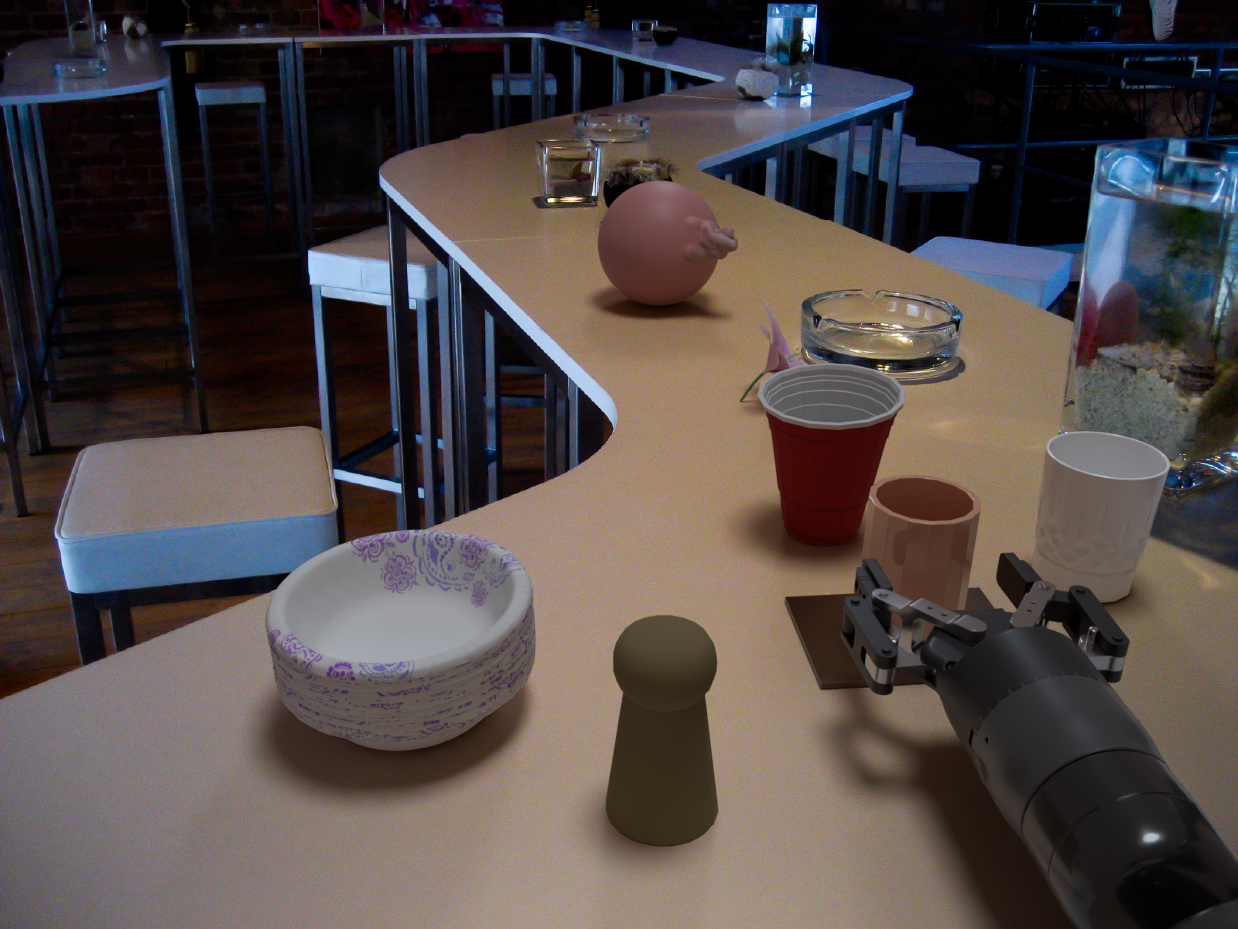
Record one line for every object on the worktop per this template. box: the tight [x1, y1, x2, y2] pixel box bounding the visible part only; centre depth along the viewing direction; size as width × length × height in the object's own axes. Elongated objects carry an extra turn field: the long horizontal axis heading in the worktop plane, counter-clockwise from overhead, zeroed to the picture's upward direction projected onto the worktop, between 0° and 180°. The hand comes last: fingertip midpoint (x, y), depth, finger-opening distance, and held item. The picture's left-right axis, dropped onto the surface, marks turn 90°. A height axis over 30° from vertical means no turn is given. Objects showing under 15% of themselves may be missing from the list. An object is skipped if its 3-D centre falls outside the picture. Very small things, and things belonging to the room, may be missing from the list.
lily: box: [739, 296, 806, 402], centre depth 108 cm, size 12×12×10 cm
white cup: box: [1031, 430, 1171, 604], centre depth 76 cm, size 8×8×10 cm
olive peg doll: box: [605, 614, 719, 846], centre depth 56 cm, size 6×6×11 cm
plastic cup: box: [756, 362, 907, 547], centre depth 83 cm, size 11×11×12 cm
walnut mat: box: [784, 586, 995, 690], centre depth 72 cm, size 14×10×1 cm
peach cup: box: [860, 474, 982, 642], centre depth 70 cm, size 7×7×10 cm
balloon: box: [597, 180, 739, 307], centre depth 135 cm, size 15×20×15 cm
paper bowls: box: [264, 529, 537, 752], centre depth 64 cm, size 15×15×8 cm
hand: (934, 568), depth 66 cm, fingers open, 8 cm apart
